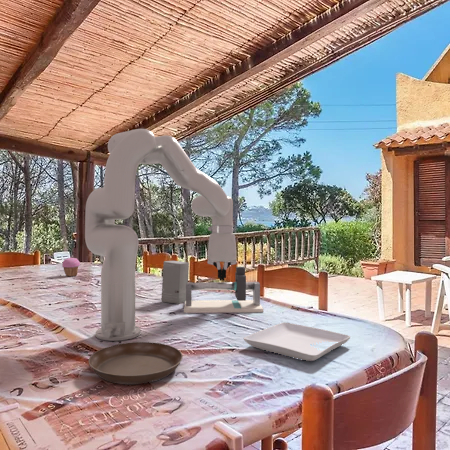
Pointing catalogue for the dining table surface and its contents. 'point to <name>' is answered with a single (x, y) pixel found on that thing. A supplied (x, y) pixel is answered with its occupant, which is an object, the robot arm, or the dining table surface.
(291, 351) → the salad plate
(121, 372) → the plant saucer
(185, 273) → the skincare box
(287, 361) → the dining table surface
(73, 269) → the cupcake
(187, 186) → the robot arm
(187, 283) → the rail
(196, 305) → the board
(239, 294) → the collar
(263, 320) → the dining table surface
